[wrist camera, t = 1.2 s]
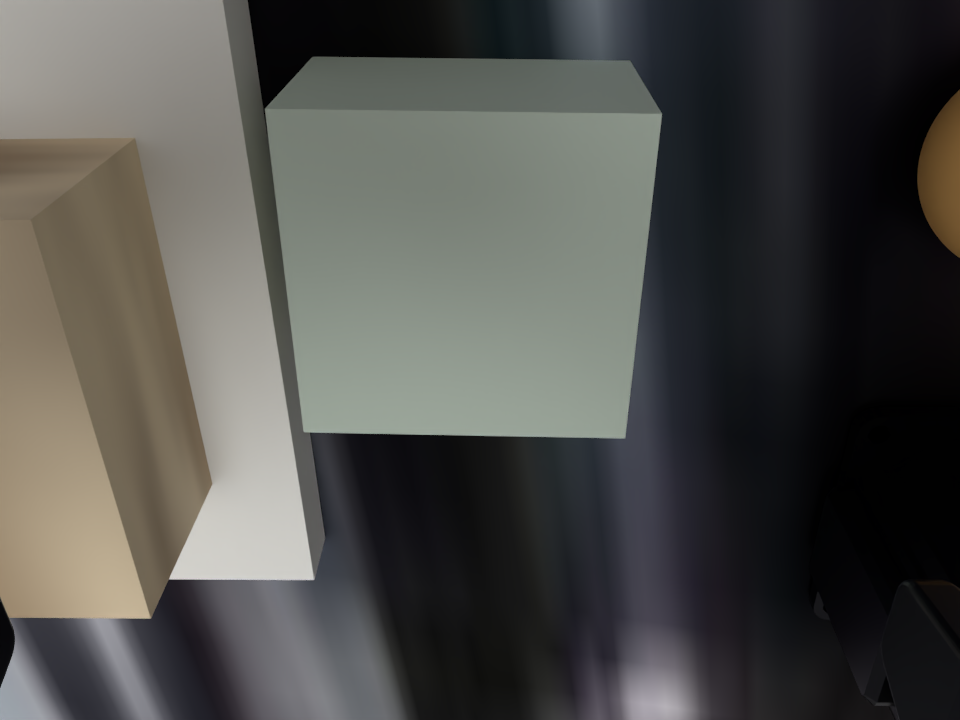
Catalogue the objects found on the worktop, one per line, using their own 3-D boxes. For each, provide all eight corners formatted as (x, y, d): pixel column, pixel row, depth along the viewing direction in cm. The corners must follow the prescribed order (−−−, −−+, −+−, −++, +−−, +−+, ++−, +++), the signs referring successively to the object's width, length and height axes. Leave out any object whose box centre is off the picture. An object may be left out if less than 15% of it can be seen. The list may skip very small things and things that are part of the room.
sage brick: (628, 58, 16) (662, 113, 13) (603, 334, 19) (625, 438, 16) (314, 54, 16) (264, 108, 13) (338, 330, 20) (303, 432, 16)
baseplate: (240, -55, 15) (215, -46, 14) (325, 538, 22) (314, 580, 21) (-414, -45, 16) (-496, -35, 14) (-125, 536, 23) (-163, 577, 22)
